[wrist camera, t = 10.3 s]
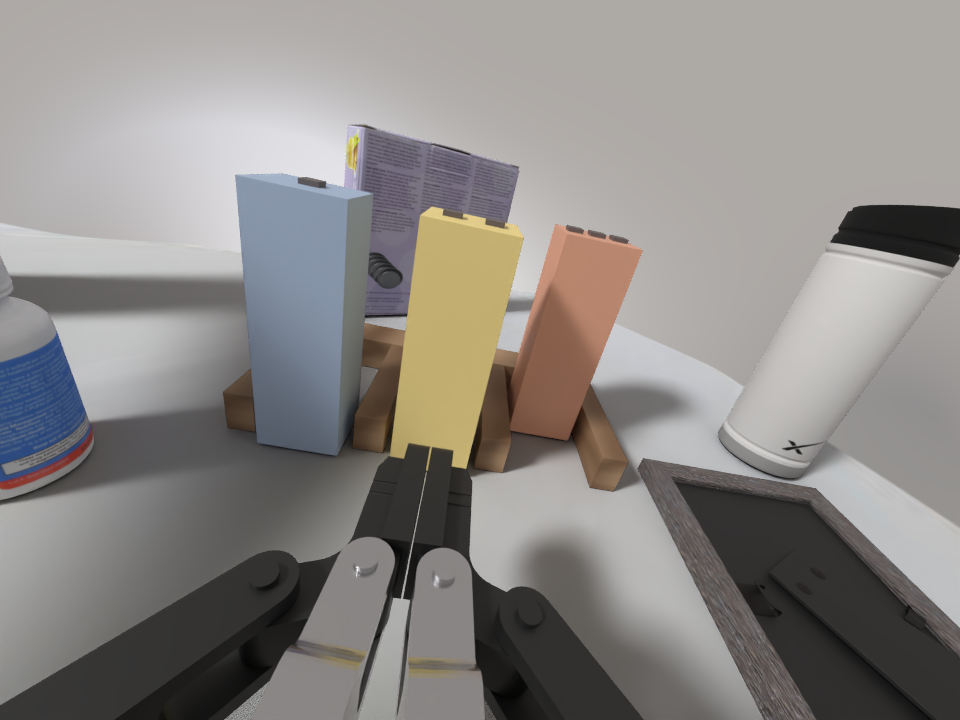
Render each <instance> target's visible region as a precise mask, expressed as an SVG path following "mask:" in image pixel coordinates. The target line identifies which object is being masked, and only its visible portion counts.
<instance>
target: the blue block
mask: <svg viewBox="0 0 960 720" xmlns="http://www.w3.org/2000/svg"><path fill="white" fill-rule="evenodd" d="M235 177H236V188H237V200H238V213H239V226H240V237H241V249H242V262H243V275H244V287H245V299H246V311H247V324H248V336H249V348H250V360H251V373H252V385H253V397H254V409H255V422H256V434H257V443H261V444H267V445H273V446H279V447H285V448H291V449H297V450H304V451H310V452H316V453H322V454H328V455H334V456H337V455H338V453H339V451H340V449H341V447H342V445H343V443H344V441H345V439H346V437H347V436H348V434H349V432H350V430H351V428H352V426H353V424H354V421H355V414H356V412H357V410H358V406H359V392H360V377H361V363H362V349H363V335H364V321H365V306H366V292H367V278H368V264H369V250H370V235H371V221H372V207H373V193H368V192H364V191H359V190H355V189H350V188H346V187H341V186H337V185H332V184H327V183H326V181H321V180H317V179H312V178H308V177H296V176H291V175H287V174H250V175H235Z"/></svg>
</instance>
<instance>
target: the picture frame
mask: <svg viewBox="0 0 960 720" xmlns="http://www.w3.org/2000/svg"><path fill="white" fill-rule="evenodd" d="M638 471H639V473H640V475H641V477H642V479H643V481H644V483H645V485H646V487H647V489H648V491H649V493H650V495H651V497H652V499H653V500H654V502H655V504H656V506H657V508H658V510H659V512H660V514H661V516H662V518H663V520H664V522H665V524H666V526H667V528H668V530H669V532H670V534H671V536H672V538H673V540H674V542H675V544H676V546H677V548H678V550H679V552H680V554H681V556H682V558H683V560H684V562H685V564H686V566H687V568H688V570H689V572H690V574H691V576H692V578H693V580H694V582H695V584H696V586H697V588H698V590H699V592H700V594H701V596H702V598H703V600H704V602H705V604H706V606H707V608H708V610H709V612H710V614H711V616H712V618H713V620H714V622H715V624H716V626H717V627H718V629H719V631H720V633H721V635H722V637H723V639H724V641H725V643H726V645H727V647H728V649H729V651H730V653H731V655H732V657H733V659H734V661H735V663H736V665H737V667H738V669H739V671H740V673H741V675H742V677H743V679H744V681H745V683H746V685H747V687H748V689H749V691H750V693H751V695H752V697H753V699H754V701H755V703H756V705H757V707H758V709H759V711H760V713H761V715H762V717H763V719H764V720H960V628H959V627H958V626H957V625H956V624H955V623H954V622H953V621H952V620H951V619H950V618H949V617H948V616H947V615H946V614H945V613H944V612H943V611H942V610H941V609H940V608H938V607H937V606H936V605H935V604H934V603H933V602H932V601H931V600H930V599H929V598H928V597H927V596H926V595H925V594H924V593H923V592H922V591H921V590H920V589H919V588H918V587H917V586H916V585H915V584H914V583H913V582H912V581H911V580H910V579H909V578H908V577H907V576H905V575H904V574H903V573H902V572H901V571H900V570H899V569H898V568H897V567H896V566H895V565H894V564H893V563H892V562H891V561H890V560H889V559H888V558H887V557H886V556H885V555H884V554H883V553H882V552H881V551H880V550H879V549H878V548H877V547H876V546H875V545H874V544H872V543H871V542H870V541H869V540H868V539H867V538H866V537H865V536H864V535H863V534H862V533H861V532H860V531H859V530H858V529H857V528H856V527H855V526H854V525H853V524H852V523H851V522H850V521H849V520H848V519H847V518H846V517H845V516H844V515H843V514H842V513H840V512H839V511H838V510H837V509H836V508H835V507H834V506H833V505H832V504H831V503H830V502H829V501H828V500H827V499H826V498H825V497H824V496H823V495H822V494H821V493H820V492H819V491H818V490H817V489H816V488H811V487H805V486H799V485H793V484H788V483H782V482H776V481H770V480H765V479H759V478H753V477H747V476H742V475H736V474H730V473H725V472H719V471H713V470H707V469H702V468H696V467H690V466H684V465H679V464H673V463H667V462H661V461H656V460H650V459H644V458H643V460H642V461H641V463H640V465H639V467H638Z"/></svg>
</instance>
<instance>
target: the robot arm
mask: <svg viewBox="0 0 960 720" xmlns="http://www.w3.org/2000/svg"><path fill="white" fill-rule="evenodd" d="M429 451H430V446H424V445H418V444H412V443H408V446H407V450H406V453H405V457H404V459H403V458H397V457H391V456H389V457H388V458H387V459H386V460H385V461H384V462H383V463H382V464H381V465H379V466H378V469H377V472H376V475H375V477H374V480H373V483H372V485H371V488H370V491H369V494H368V496H367V499H366V502H365V505H364V507H363V510H362V513H361V516H360V518H359V521H358V524H357V526H356V529H355V532H354V535H353V537H352V539H351V540H350V542H349V543H348V544H347V545H346V546H345V547H344V548H343V549H342V550H341V551H340V552H338V553H337V554H335V555H333V556H331V557H328V558H325V559H321V560H316V561H310V562H304V563H298V562H297V561H296V559H295V558H294V557H293V556H292V555H290V554H289V553H286V552H284V551H266V552H262V553H260V554H257V555H255V556H253V557H251V558H249V559H248V560H246V561H244V562H242V563H241V564H239V565H237V566H236V567H234V568H232V569H231V570H229V571H227V572H226V573H224V574H222V575H220V576H219V577H217V578H215V579H214V580H212V581H210V582H209V583H207V584H205V585H203V586H202V587H200V588H198V589H197V590H195V591H193V592H192V593H190V594H188V595H187V596H185V597H183V598H181V599H180V600H178V601H176V602H175V603H173V604H171V605H170V606H168V607H166V608H164V609H163V610H161V611H159V612H158V613H156V614H154V615H153V616H151V617H149V618H148V619H146V620H144V621H142V622H141V623H139V624H137V625H136V626H134V627H132V628H131V629H129V630H127V631H126V632H124V633H122V634H120V635H119V636H117V637H115V638H114V639H112V640H110V641H109V642H107V643H105V644H103V645H102V646H100V647H98V648H97V649H95V650H93V651H92V652H90V653H88V654H87V655H85V656H83V657H81V658H80V659H78V660H76V661H75V662H73V663H71V664H70V665H68V666H66V667H65V668H63V669H61V670H59V671H58V672H56V673H54V674H53V675H51V676H49V677H48V678H46V679H44V680H42V681H41V682H39V683H37V684H36V685H34V686H32V687H31V688H29V689H27V690H26V691H24V692H22V693H20V694H19V695H17V696H15V697H14V698H12V699H10V700H9V701H7V702H5V703H3V704H2V705H0V720H224V719H225V718H226V717H228V716H229V715H230V714H231V713H232V712H233V711H235V710H236V709H237V708H238V707H239V706H240V705H242V704H243V703H244V702H245V701H246V700H248V699H249V698H250V697H251V696H252V695H253V694H255V693H256V692H257V691H258V690H259V689H261V688H262V687H263V686H264V685H265V684H266V683H268V682H269V683H268V685H267V688H266V690H265V692H264V694H263V696H262V698H261V700H260V702H259V704H258V706H257V708H256V710H255V712H254V714H253V716H252V718H251V720H358V718H359V714H360V711H361V707H362V704H363V701H364V697H365V694H366V690H367V687H368V684H369V680H370V677H371V673H372V670H373V667H374V663H375V660H376V656H377V653H378V650H379V646H380V643H381V639H382V636H383V633H384V628H385V626H386V624H387V622H388V619H389V614H390V610H391V605H392V601H393V598H400V599H401V594H402V589H403V584H404V579H405V574H406V569H407V564H408V559H409V554H410V549H411V544H412V539H413V534H414V529H415V524H416V519H417V514H418V509H419V504H420V499H421V494H422V489H423V484H424V478H425V473H426V467H427V462H428V456H429ZM452 460H453V450H449V449H443V448H437V447H432V450H431V455H430V460H429V465H428V471H427V476H426V481H425V486H424V491H423V496H422V501H421V506H420V511H419V517H418V522H417V527H416V532H415V537H414V542H413V548H412V553H411V558H410V564H409V569H408V575H407V580H406V586H405V591H404V597H403V599H409V600H410V604H409V610H408V615H407V621H406V626H405V632H404V639H403V648H402V658H401V667H400V676H399V685H398V695H397V704H396V713H395V720H485V713H484V698H485V700H486V702H487V704H488V705H489V707H490V709H491V711H492V712H493V714H494V716H495V718H496V719H497V720H643V718H642V717H641V716H640V715H639V713H638V712H637V711H636V710H635V708H634V707H633V706H632V705H631V703H630V702H629V701H628V700H627V698H626V697H625V696H624V695H623V693H622V692H621V691H620V690H619V688H618V687H617V686H616V685H615V684H614V682H613V681H612V680H611V679H610V677H609V676H608V675H607V674H606V672H605V671H604V670H603V669H602V667H601V666H600V665H599V664H598V662H597V661H596V660H595V659H594V657H593V656H592V655H591V654H590V652H589V651H588V650H587V649H586V647H585V646H584V645H583V644H582V642H581V641H580V640H579V639H578V637H577V636H576V635H575V634H574V632H573V631H572V630H571V629H570V627H569V626H568V625H567V624H566V622H565V621H564V620H563V619H562V618H561V616H560V615H559V614H558V613H557V611H556V610H555V609H554V608H553V606H552V605H551V604H550V603H549V601H548V600H547V599H546V598H545V597H544V596H543V595H542V594H541V593H539V592H538V591H536V590H534V589H532V588H528V587H515V588H513V589H511V590H509V591H508V592H505V591H503V590H501V589H499V588H497V587H495V586H493V585H491V584H490V583H488V582H486V581H485V580H484V579H482V578H481V577H480V576H479V575H478V574H477V572H476V571H475V570H474V568H473V566H472V563H471V561H470V556H469V546H470V523H471V500H472V498H471V496H472V480H471V478H470V475H469V473H468V471H467V469H464V468H458V467H452Z"/></svg>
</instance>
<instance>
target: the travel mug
mask: <svg viewBox="0 0 960 720" xmlns="http://www.w3.org/2000/svg"><path fill="white" fill-rule="evenodd" d="M838 229H839V232H838V233H837V234H835V235H834V236H833V238H832V240H831V242H830V243H828V245H827V247H826V253H825V254H822V255H821V257H820V259H819V260H818V262H817V264H816V265H815V267H814V269H813V271H812V272H811V274H810V276H809V277H808V279H807V281H806V283H805V284H804V286H803V288H802V290H801V291H800V293H799V295H798V296H797V298H796V300H795V302H794V303H793V305H792V307H791V309H790V310H789V312H788V314H787V315H786V317H785V319H784V320H783V322H782V324H781V325H780V327H779V329H778V331H777V332H776V334H775V336H774V337H773V339H772V341H771V343H770V344H769V346H768V348H767V349H766V351H765V353H764V355H763V356H762V358H761V360H760V361H759V363H758V365H757V367H756V369H755V370H754V372H753V373H752V375H751V377H750V379H749V380H748V382H747V384H746V386H745V387H744V389H743V391H742V392H741V394H740V396H739V397H738V399H737V401H736V403H735V404H734V406H733V408H732V409H731V411H730V413H729V415H728V417H727V419H726V420H725V421H724V423H723V425H722V427H721V428H720V430H719V432H718V436H719V439H720V441H721V442H722V444H723V445H724V446H725V447H726V448H727V449H728V450H729V451H730V452H731V453H733V454H734V455H735V456H736V457H738V458H739V459H741V460H742V461H744V462H746V463H747V464H749V465H751V466H753V467H755V468H757V469H759V470H762V471H764V472H766V473H769V474H772V475H775V476H779V477H785V478H796V477H799V476H801V475H802V474H803V473H804V471H805V470H806V468H807V467H808V466H809V464H810V463H811V460H813V459H814V458H815V456H816V455H817V454H818V452H819V451H820V450H821V448H822V447H823V445H824V444H825V443H826V441H827V440H828V439H829V437H830V436H831V435H832V433H833V432H834V430H835V429H836V428H837V426H838V425H839V424H840V422H841V421H842V420H843V418H844V417H845V416H846V414H847V413H848V412H849V410H850V409H851V407H852V406H853V405H854V403H855V402H856V401H857V399H858V398H859V397H860V395H861V394H862V393H863V391H864V390H865V388H866V387H867V386H868V384H869V383H870V382H871V380H872V379H873V378H874V376H875V375H876V374H877V372H878V371H879V370H880V368H881V367H882V365H883V364H884V363H885V361H886V360H887V359H888V357H889V356H890V355H891V353H892V352H893V350H894V349H895V348H896V346H897V345H898V344H899V342H900V341H901V340H902V338H903V337H904V336H905V334H906V333H907V331H908V330H909V329H910V328H911V326H912V325H913V323H914V322H915V321H916V319H917V318H918V317H919V315H920V314H921V312H922V311H923V310H924V309H925V307H926V306H927V304H928V303H929V302H930V300H931V299H932V298H933V296H934V295H935V294H936V292H937V291H938V289H939V288H940V287H941V285H942V284H943V283H944V280H943V277H945V276H948V275H949V274H950V273H951V272H952V271H953V267H954V266H955V264H956V263H957V262H958V260H959V255H960V209H959V208H949V207H935V206H915V205H868V206H858V207H854V208H853V210H852V211H849V212H848V213H847V214H846V216H845V218H844V220H843V221H842V223H841V224H840V226H839V228H838Z"/></svg>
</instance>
